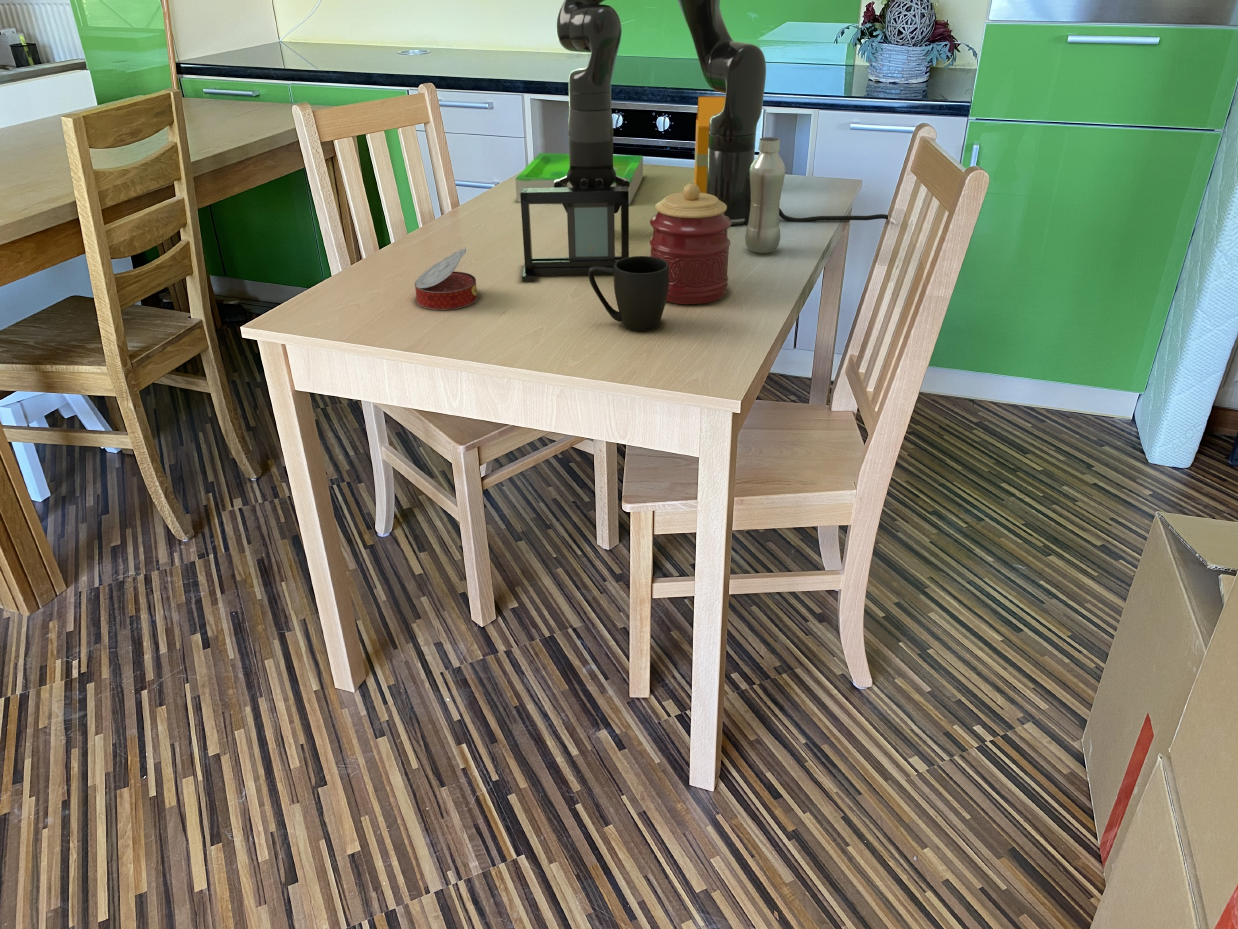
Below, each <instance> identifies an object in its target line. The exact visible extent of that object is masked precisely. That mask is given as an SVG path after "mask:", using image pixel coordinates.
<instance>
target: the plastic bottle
mask: <svg viewBox="0 0 1238 929" xmlns="http://www.w3.org/2000/svg"><path fill="white" fill-rule="evenodd" d="M758 141H759V142H758V148H757V150H758V151H759V153H758V154H757V155H756V157H754V161H753V163H752V164H751V167H750V188H751V208H750V215H749V222H748V224H747V226H746V229H745V235H744V240H745V241H744V242H745V246H746V247H747V249H748V250H749V251H751V252H754V253H771V252H774V251H776V250H777V248H778V247H779V245H780V241H781V229H780V228H781V226H780V216H779V208H780V205H781V202H780V201H781V198H782V190H783V187H784V182H785V176H786V166H785V163H784V162H783V159H782V157H781V156H780V154H779V152H780V151H781V147H780V146H781V138H778V137H774V136H764V137H761V138H759V140H758Z"/></svg>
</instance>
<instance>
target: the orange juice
mask: <svg viewBox="0 0 1238 929" xmlns="http://www.w3.org/2000/svg"><path fill="white" fill-rule="evenodd" d="M725 96H726V95H703V96H701V95H700V96H699V95H698V96H697V97H698V98H697V99H698V100H697V109H696V120H695V144H694V146H695V147H694V175H693V177H694V178H693V184H696V185H697V186H698V187H699V190H700V193H706V191H707V167H708V143H709V122H710V118H711V117H712V116H713V115H714V114H717V113H720V112H721V111H722V110H723V108H724V104H725Z"/></svg>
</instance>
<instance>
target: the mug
mask: <svg viewBox="0 0 1238 929" xmlns="http://www.w3.org/2000/svg"><path fill="white" fill-rule="evenodd" d="M595 270H600V271H605V272H608V273H610V274H612V275H611V276H613V289H614V296H615V301H616V304H617V305H616V306H617V309H618V310H616V309H614V308H613V307H612V306H611V305H610V304H609V302H608V301H607V299H606V298H605V296H604V294H603V292H602V291H601V289H600V287H599V285H598V284H597V280H596V278H595V277H596V276H594V271H595ZM588 280H589V283H590V285H591V288H592V289H593V291H594V293H595V294H596V296H597V298H598V299H599V301H600V302H601V304H602V306H603V307H604V309H605V311H606V312H607V313H608V314H609V316H610V317H611V318H612V319H613V320H614V321H616V322H619V323H622V326H623V327H624V328H625V329H626V330H629V331H630V332H631V331H632V332H639V333H642V332H643V333H644V332H651V331H654V330H656V329H658V328H659V326H660V322H661V321H662V317H663V314H664V311H665V307H666V303H667V301H666V299H667V294H668V286H669V264H668V262H667V261H665V260H663V259H660V258H656V257H651V255H650V256H648V255H634V256H629V257H627V258H623V259H620V260H618V261H616V262H615V263H614V269H612V268H608V267H602V266H593V267H591V268H590V269H589V276H588Z"/></svg>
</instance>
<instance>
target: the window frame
mask: <svg viewBox="0 0 1238 929" xmlns="http://www.w3.org/2000/svg"><path fill="white" fill-rule="evenodd" d="M520 198H521V202H520V213H521V226H522V241H523V244H522V246H523V257H524V258H523V259H524V260H523V267H522V268H523V269H522V276H521V278H522V279H521V281H522V283H533V282H534V283H535V278H538V277H540V278H542V277H543V278H544V277H545V278H546V277H589V269H590V268H591V267H593V266H602V267H608V268H612V269H614V263H615V262H616V261H618V260H620V259H623V258H627V257H630V209H629V208H630V205H629V190H628V186H622V187H562V188H521V192H520ZM564 203H621V206H620V250H621V252H620V256H618V255H617V256H616V255H615V260H578V261H569V256H568V257H567V256H566V257H563V256H562V257H533V244H532V229H531V228H532V227H531V226H532V225H531V210H530V205H553V204H554V205H555V204H556V205H558V204H560V205H563V204H564ZM596 276H613V275H612V274H610V273H608V272H605V271H600V270H595V271H594V277H596Z"/></svg>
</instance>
